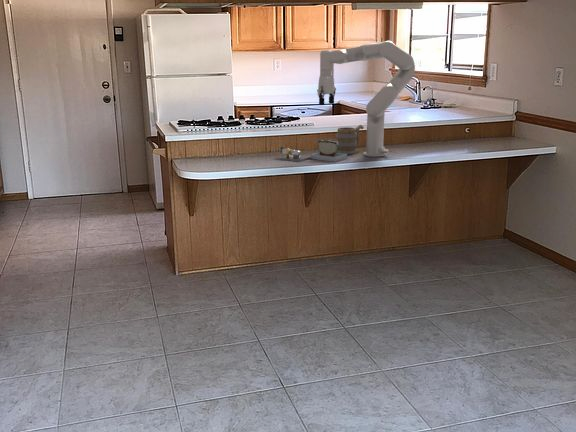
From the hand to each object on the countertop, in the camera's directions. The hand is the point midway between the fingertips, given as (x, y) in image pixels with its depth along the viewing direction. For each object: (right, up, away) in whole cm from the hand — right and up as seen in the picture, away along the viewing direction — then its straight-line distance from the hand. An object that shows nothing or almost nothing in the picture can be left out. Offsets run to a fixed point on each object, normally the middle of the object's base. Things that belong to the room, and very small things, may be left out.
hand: (326, 104), depth 342 cm
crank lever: (-21, -30, -5) cm, 37 cm away
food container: (+1, -31, -7) cm, 32 cm away
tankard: (+15, -26, +14) cm, 33 cm away
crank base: (-17, -32, -7) cm, 37 cm away
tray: (+1, -31, -7) cm, 32 cm away
